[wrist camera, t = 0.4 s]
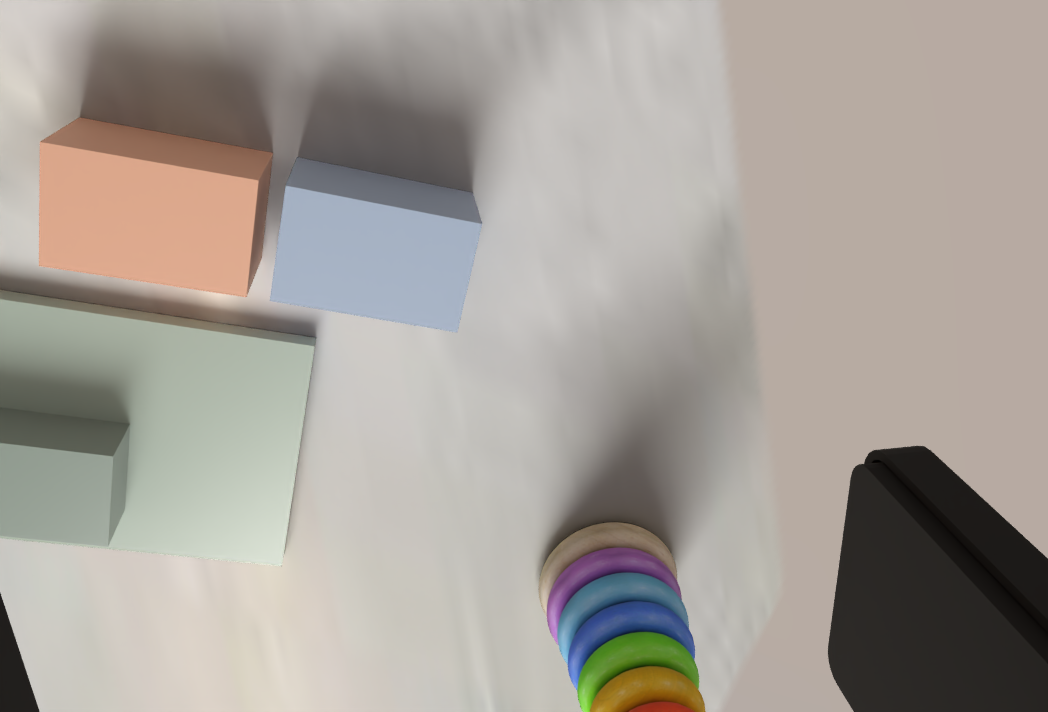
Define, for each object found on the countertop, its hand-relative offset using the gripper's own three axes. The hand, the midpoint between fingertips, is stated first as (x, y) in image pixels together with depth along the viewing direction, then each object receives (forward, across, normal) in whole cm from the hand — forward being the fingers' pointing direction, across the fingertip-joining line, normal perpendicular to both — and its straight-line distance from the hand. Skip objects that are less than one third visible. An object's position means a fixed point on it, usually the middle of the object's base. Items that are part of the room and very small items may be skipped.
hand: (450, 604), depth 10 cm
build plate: (+34, +14, +15) cm, 40 cm away
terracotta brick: (+34, +10, +3) cm, 35 cm away
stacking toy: (+34, -9, +27) cm, 44 cm away
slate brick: (+34, +2, +5) cm, 34 cm away
